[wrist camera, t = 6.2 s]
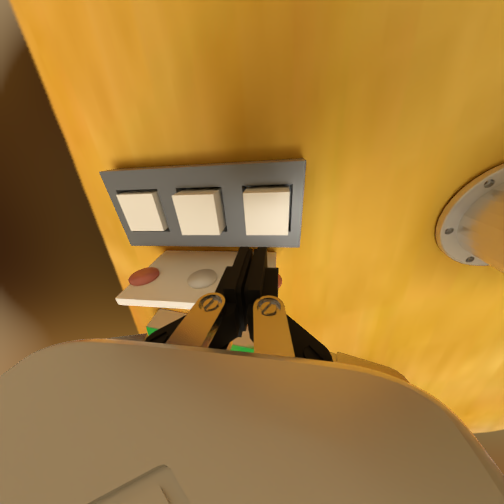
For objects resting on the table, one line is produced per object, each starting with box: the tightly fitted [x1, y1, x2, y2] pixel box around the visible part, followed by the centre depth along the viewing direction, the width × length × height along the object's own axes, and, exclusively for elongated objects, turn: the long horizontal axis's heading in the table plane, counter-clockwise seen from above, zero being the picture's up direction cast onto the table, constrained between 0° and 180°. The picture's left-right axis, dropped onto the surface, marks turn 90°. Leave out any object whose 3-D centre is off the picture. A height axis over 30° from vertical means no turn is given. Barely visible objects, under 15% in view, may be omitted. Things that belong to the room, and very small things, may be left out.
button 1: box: [243, 186, 290, 235], centre depth 22 cm, size 5×5×3 cm
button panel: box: [99, 158, 306, 309], centre depth 22 cm, size 24×14×11 cm, turn 94°
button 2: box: [116, 189, 168, 231], centre depth 25 cm, size 5×5×3 cm
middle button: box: [172, 188, 226, 235], centre depth 23 cm, size 5×5×3 cm
